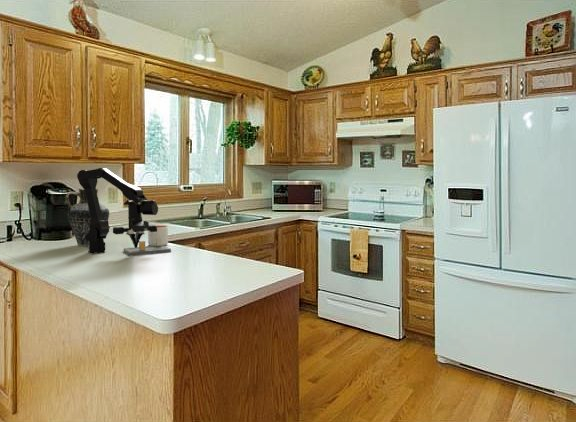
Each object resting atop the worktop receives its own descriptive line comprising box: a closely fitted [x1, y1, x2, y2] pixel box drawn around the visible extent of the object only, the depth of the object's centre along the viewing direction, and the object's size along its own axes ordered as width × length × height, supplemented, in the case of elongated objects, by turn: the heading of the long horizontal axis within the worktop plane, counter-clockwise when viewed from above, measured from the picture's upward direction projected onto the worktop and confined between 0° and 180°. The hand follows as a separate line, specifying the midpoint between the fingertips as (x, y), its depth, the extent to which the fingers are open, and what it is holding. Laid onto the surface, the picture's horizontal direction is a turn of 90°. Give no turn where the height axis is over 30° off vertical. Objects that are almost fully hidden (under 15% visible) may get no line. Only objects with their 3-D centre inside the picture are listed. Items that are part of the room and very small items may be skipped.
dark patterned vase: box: [64, 187, 110, 247], centre depth 208 cm, size 21×19×30 cm
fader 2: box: [156, 237, 162, 246], centre depth 200 cm, size 2×2×4 cm
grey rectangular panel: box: [123, 245, 172, 257], centre depth 193 cm, size 19×13×2 cm
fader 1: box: [138, 240, 146, 250], centre depth 188 cm, size 2×2×4 cm
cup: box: [147, 225, 169, 246], centre depth 212 cm, size 10×10×10 cm
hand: (135, 247), depth 186 cm, fingers closed
